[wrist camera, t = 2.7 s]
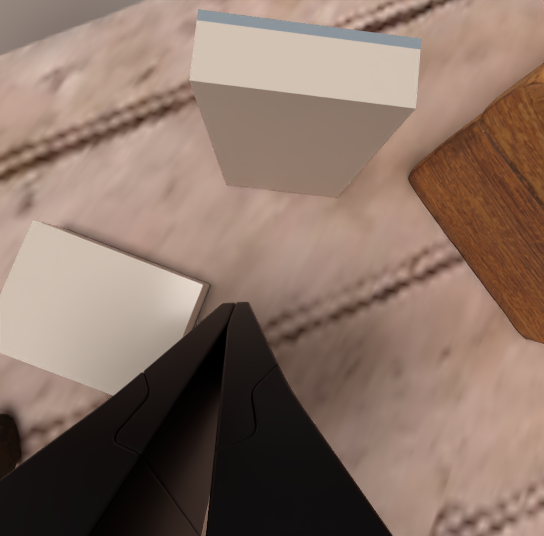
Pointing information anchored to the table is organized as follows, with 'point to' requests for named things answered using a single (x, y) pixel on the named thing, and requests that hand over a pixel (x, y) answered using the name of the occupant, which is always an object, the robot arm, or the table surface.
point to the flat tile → (92, 308)
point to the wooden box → (496, 199)
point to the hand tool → (8, 445)
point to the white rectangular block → (299, 99)
